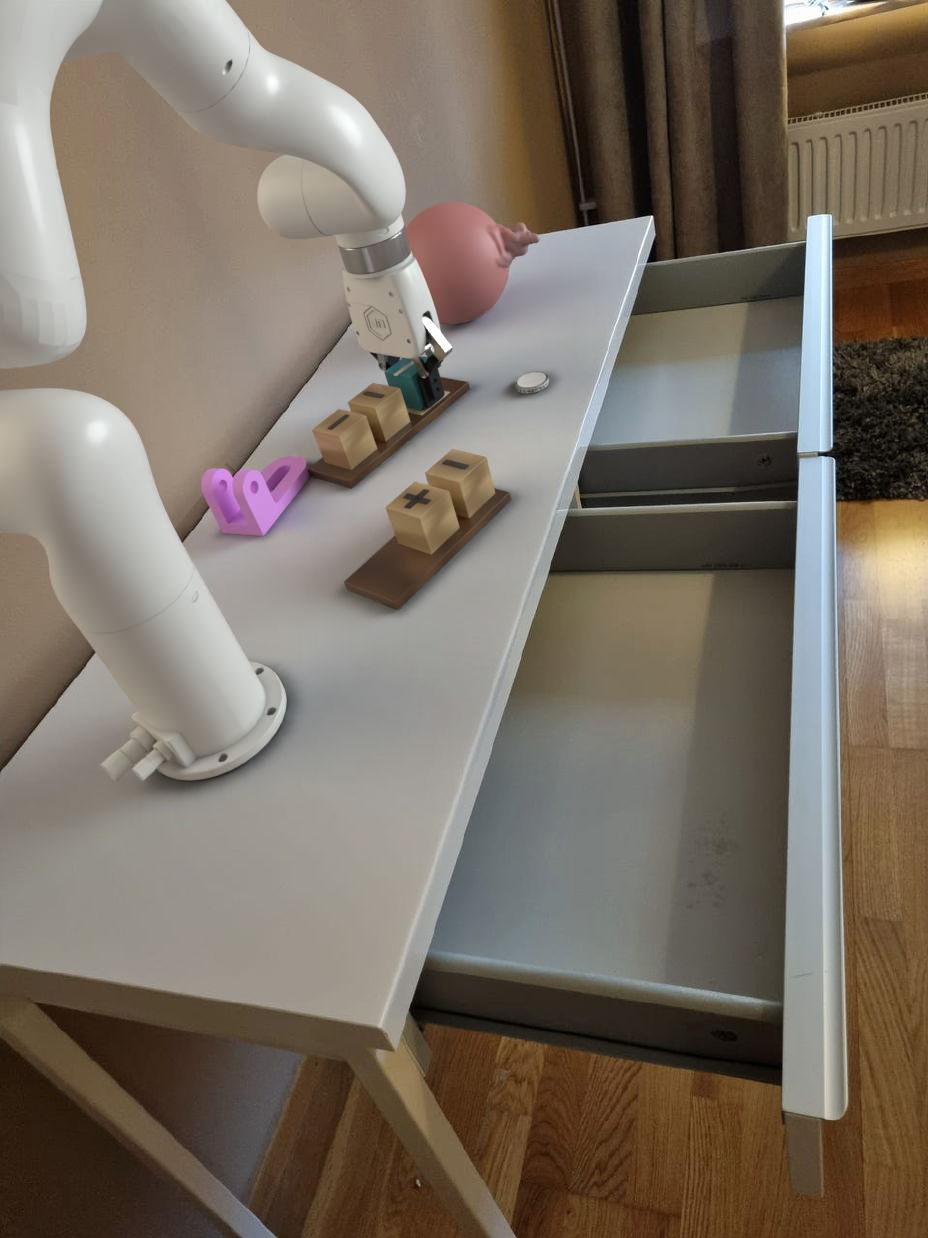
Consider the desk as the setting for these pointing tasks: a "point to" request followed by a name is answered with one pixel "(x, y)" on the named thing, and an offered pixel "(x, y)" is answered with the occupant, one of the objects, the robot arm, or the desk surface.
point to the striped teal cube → (406, 381)
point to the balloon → (465, 258)
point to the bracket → (253, 494)
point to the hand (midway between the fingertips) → (418, 397)
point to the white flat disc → (532, 382)
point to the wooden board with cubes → (430, 527)
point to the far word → (373, 431)
